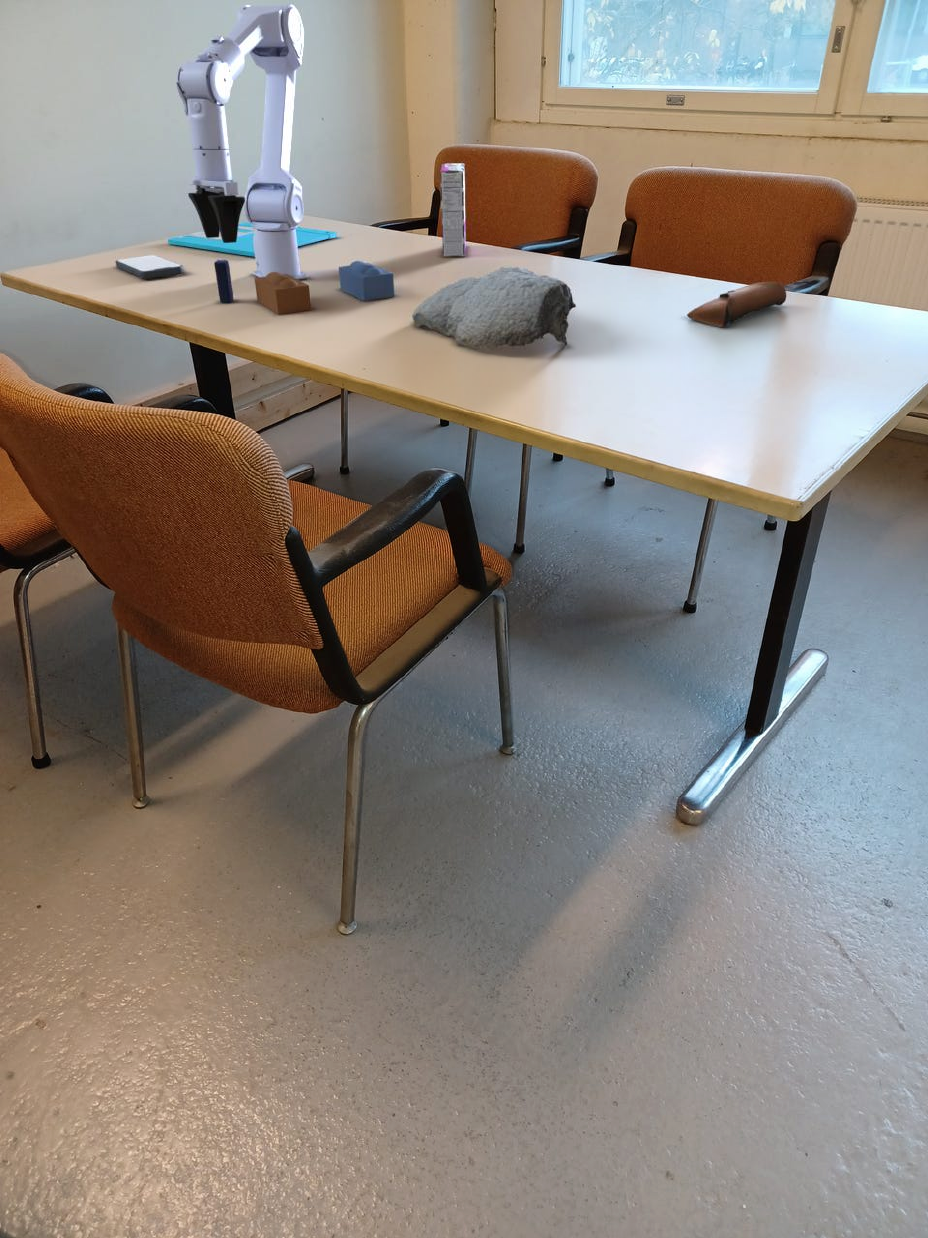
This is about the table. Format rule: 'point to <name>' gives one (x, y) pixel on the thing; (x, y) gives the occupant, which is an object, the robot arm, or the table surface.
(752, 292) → the sunglasses case
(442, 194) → the candy bar box
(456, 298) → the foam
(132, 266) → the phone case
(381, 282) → the blue rectangular block
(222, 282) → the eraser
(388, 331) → the table surface
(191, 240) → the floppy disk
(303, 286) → the brown lumpy block
